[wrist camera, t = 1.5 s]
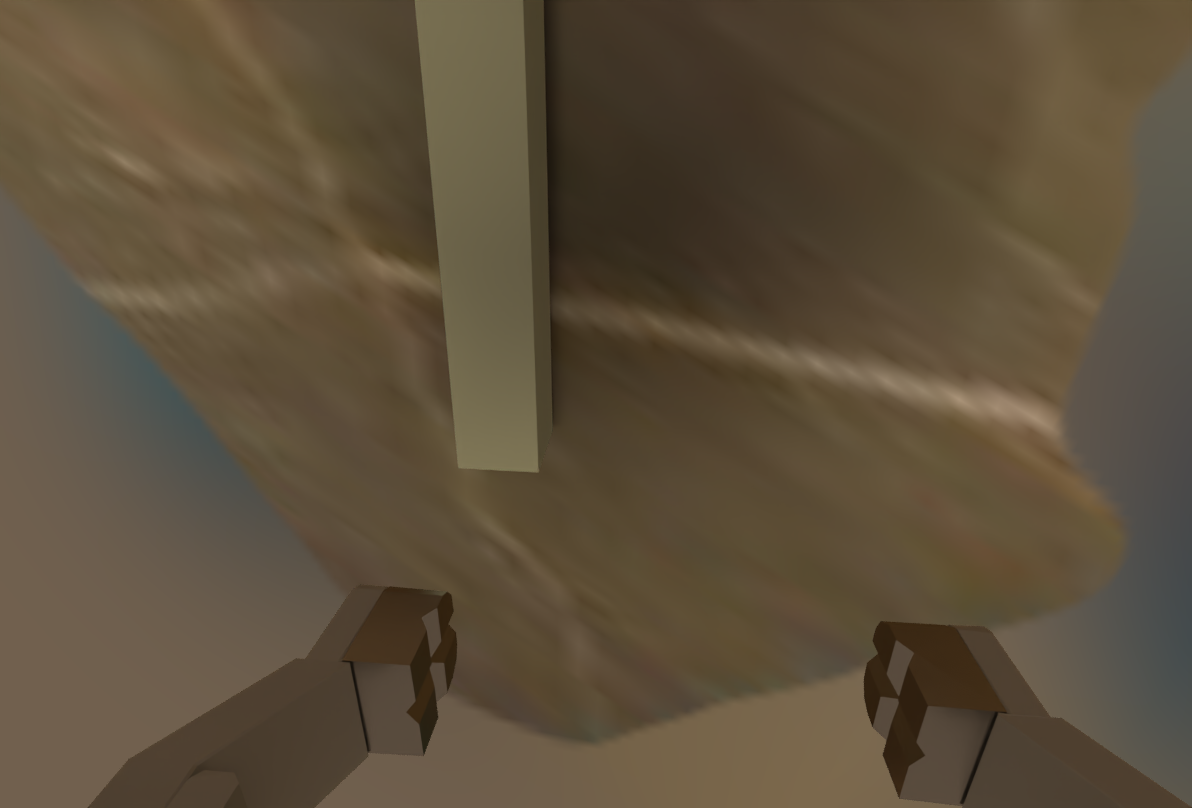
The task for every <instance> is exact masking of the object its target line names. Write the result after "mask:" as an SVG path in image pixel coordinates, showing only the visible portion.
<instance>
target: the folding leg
mask: <svg viewBox="0 0 1192 808" xmlns="http://www.w3.org/2000/svg"><path fill="white" fill-rule="evenodd" d="M415 9H416V20H417V31H418V41H419V52H420V63H421V74H422V84H423V95H424V106H425V117H426V128H427V138H428V149H429V160H430V171H431V181H432V192H433V203H434V214H435V224H436V235H437V246H438V257H439V267H440V278H441V289H442V300H443V310H444V321H445V332H446V343H447V353H448V364H449V375H450V386H451V396H452V407H453V418H454V429H455V439H456V450H457V461H458V468H465V469H484V470H503V471H521V472H539V469H540V466H541V463H542V460H543V458H544V455H545V452H546V449H547V446H548V443H549V440H550V437H551V434H552V431H553V423H552V375H551V327H550V279H549V231H548V183H547V135H546V87H545V39H544V0H415Z"/></svg>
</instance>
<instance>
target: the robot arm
mask: <svg viewBox="0 0 1192 808" xmlns="http://www.w3.org/2000/svg"><path fill="white" fill-rule="evenodd" d="M453 612H454V609H453V603H452V596H451V594H450V593H448V592H446V591H435V590H425V589H414V588H403V587H392V586H390V587H385V586H375V585H364V584H360V585H358V586H356V587H355V588H353V589H352V590H351V592H350V593H349V595H348V596H347V598H346V599H345V601H344V602H343V604H342V605H341V607H340V608H339V610H338V611H337V613H336V614H335V616H334V617H333V619H332V620H331V622H330V623H329V624H328V626H327V627H326V629H325V630H324V632H323V633H322V635H321V636H320V638H319V639H318V641H317V642H316V644H315V645H314V647H313V648H312V650H311V651H310V653H309V654H308V656H307V657H306V659H297V658H296V659H294V660H293V661H291V662H289V663H288V664H286V665H284V666H283V667H281V668H279V669H278V670H276V671H275V672H273V673H271V674H269V675H268V676H266V677H264V678H263V679H261V680H259V681H258V682H256V683H254V684H253V685H251V686H250V687H248V688H246V689H245V690H243V691H241V692H240V693H238V694H236V695H235V696H233V697H231V698H230V699H228V700H226V701H225V702H223V703H221V704H220V705H218V706H216V707H215V708H213V709H211V710H210V711H208V712H206V713H205V714H203V715H202V716H200V717H198V718H196V719H195V720H193V721H191V722H190V723H188V724H186V725H185V726H183V727H181V728H180V729H178V730H176V731H175V732H173V733H172V734H170V735H168V736H167V737H165V738H163V739H162V740H160V741H158V742H157V743H155V744H153V745H152V746H150V747H148V748H147V749H145V750H143V751H142V752H140V753H138V754H137V755H135V756H134V757H132V758H130V759H128V761H127V762H126V763H125V764H124V765H123V767H122V768H121V769H120V770H119V771H118V772H117V774H116V775H115V776H114V777H113V778H112V780H111V781H110V782H109V783H108V784H107V785H106V787H105V788H104V789H103V790H102V791H101V793H100V794H99V795H98V796H97V797H96V798H95V800H94V801H93V802H92V803H91V804H90V806H89V807H88V808H314V807H316V806H317V805H318V804H319V803H320V802H321V801H322V800H323V799H324V798H325V797H326V796H327V795H328V794H329V793H330V792H331V791H332V790H334V789H335V788H336V787H337V786H338V785H339V784H340V783H341V782H342V781H343V780H344V779H345V778H346V777H347V776H348V775H349V774H350V773H351V772H352V771H354V770H355V769H356V768H357V767H358V766H359V765H360V764H361V763H362V762H363V761H364V760H365V759H366V758H367V757H368V753H380V754H398V755H416V756H424V754H425V751H426V749H427V746H428V743H429V741H430V738H431V735H432V733H433V730H434V727H435V725H436V722H437V720H438V711H437V701H438V700H439V699H440V698H442V697H443V696H444V695H446V694H447V693H448V690H449V687H450V684H451V681H452V679H453V674H454V669H455V664H456V659H457V638H456V632H455V631H454V630H453V629H452V627H451V626H450V625H449V621H450V619H451V616H452V614H453ZM873 643H874V645H875V648H876V650H877V652H878V654H877V655H876V656H875V657H873V658H872V659H871V660H870V661H868V662H867V666H866V671H865V676H864V699H865V703H866V708H867V712H868V716H869V718H870V721H871V724H872V727H873V728H874V729H875V730H876V731H877V732H878V733H879V734H880V735H881V736H883V737H884V738H885V739H886V740H887V741H886V745H885V748H884V752H883V757H884V759H885V762H886V765H887V768H888V770H889V773H890V776H891V778H892V781H893V784H894V786H895V789H896V792H897V794H898V797H899V799H907V800H915V801H924V802H933V803H941V804H949V805H958V806H963V807H962V808H1192V807H1190V806H1189V805H1188V804H1186V803H1185V802H1183V801H1182V800H1180V799H1179V798H1177V797H1176V796H1174V795H1173V794H1172V793H1170V792H1169V791H1167V790H1166V789H1164V788H1163V787H1161V786H1160V785H1158V784H1157V783H1155V782H1154V781H1153V780H1151V779H1150V778H1148V777H1147V776H1145V775H1144V774H1142V773H1141V772H1140V771H1138V770H1137V769H1135V768H1134V767H1132V766H1131V765H1129V764H1128V763H1126V762H1125V761H1123V760H1122V759H1120V758H1119V757H1118V756H1116V755H1114V754H1113V753H1112V752H1110V751H1109V750H1107V749H1106V748H1104V747H1103V746H1102V745H1100V744H1099V743H1097V742H1096V741H1094V740H1093V739H1091V738H1090V737H1089V736H1087V735H1085V734H1084V733H1083V732H1081V731H1080V730H1078V729H1077V728H1075V727H1074V726H1072V725H1071V724H1070V723H1068V722H1066V721H1065V720H1064V719H1062V718H1052V717H1050V716H1049V714H1048V713H1047V711H1046V710H1045V708H1044V707H1043V705H1042V704H1041V703H1040V701H1039V700H1038V698H1037V697H1036V695H1035V694H1034V692H1033V691H1032V690H1031V688H1030V687H1029V685H1028V684H1027V682H1026V681H1025V679H1024V678H1023V676H1022V675H1021V674H1020V672H1019V671H1018V669H1017V668H1016V666H1015V665H1014V664H1013V662H1012V661H1011V659H1010V658H1009V657H1008V655H1007V653H1006V652H1005V651H1004V649H1003V647H1002V646H1001V645H1000V643H999V642H998V640H997V639H996V637H995V636H994V634H993V633H992V632H991V631H990V630H988V629H987V628H985V627H984V626H965V625H948V626H947V625H937V624H920V623H904V622H887V621H881V622H880V623H879V624H878V626H877V627H876V630H875V633H874V637H873Z"/></svg>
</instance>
